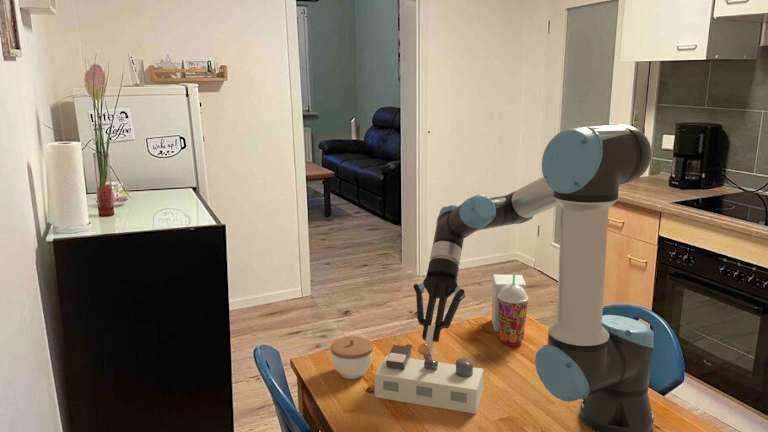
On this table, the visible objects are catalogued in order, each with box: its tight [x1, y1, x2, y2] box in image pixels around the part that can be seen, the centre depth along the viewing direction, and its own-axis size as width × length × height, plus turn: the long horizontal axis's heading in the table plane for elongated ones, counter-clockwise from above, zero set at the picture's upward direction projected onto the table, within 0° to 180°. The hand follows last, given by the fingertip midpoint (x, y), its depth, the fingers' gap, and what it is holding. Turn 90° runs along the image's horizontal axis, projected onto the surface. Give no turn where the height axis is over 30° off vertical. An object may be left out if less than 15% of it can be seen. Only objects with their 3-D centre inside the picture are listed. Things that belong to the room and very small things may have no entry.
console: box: [374, 354, 484, 415], centre depth 140 cm, size 24×10×6 cm, turn 72°
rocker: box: [386, 344, 412, 370], centre depth 143 cm, size 4×6×2 cm
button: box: [455, 357, 474, 377], centre depth 138 cm, size 4×4×3 cm
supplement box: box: [491, 274, 527, 332], centre depth 176 cm, size 9×9×15 cm
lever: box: [417, 343, 439, 369], centre depth 136 cm, size 3×3×13 cm
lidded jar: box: [330, 335, 374, 380], centre depth 150 cm, size 11×11×9 cm
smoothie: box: [498, 274, 529, 347], centre depth 165 cm, size 8×8×20 cm
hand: (427, 354), depth 137 cm, fingers closed
